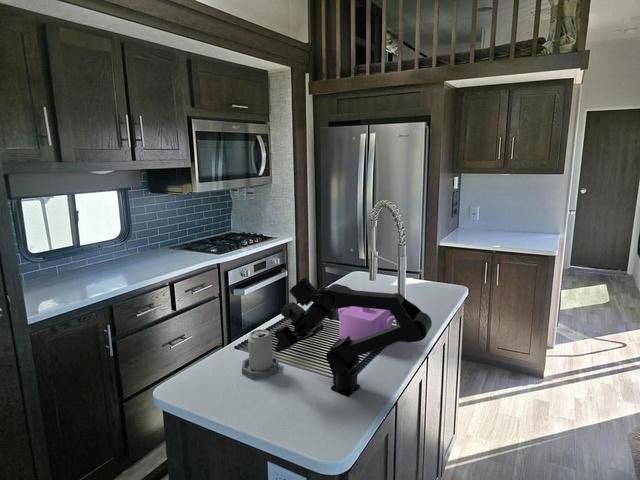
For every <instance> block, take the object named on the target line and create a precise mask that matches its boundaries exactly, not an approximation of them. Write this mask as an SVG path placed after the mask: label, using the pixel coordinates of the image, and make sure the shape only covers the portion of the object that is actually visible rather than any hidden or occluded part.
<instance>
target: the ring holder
mask: <svg viewBox="0 0 640 480" xmlns="http://www.w3.org/2000/svg"><path fill="white" fill-rule="evenodd" d="M272 359H273V365H272V367H271V368H270V369H269V370H267V371H259V372H255V371H253V370H252V369H251V368H250V367H249V357H247V358H246V359H243V360H242V365H241V374H242V375H243V376H245V377H247V378H250V379H251V380H259V379H260V380H261V379H269V378H270V377H272V376H274V375H276V374H278V373H279V372H280V370H279V369H280V367H279V365H280V362H279V361H280V360H279V358H278V357H276V356H273V355H272Z"/></svg>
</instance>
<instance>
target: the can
mask: <svg viewBox="0 0 640 480" xmlns="http://www.w3.org/2000/svg"><path fill="white" fill-rule="evenodd" d="M272 339H273V337H272V335H271V334H270V331H268V329H267V330H266V329H254V330H253V331H251V332H250V333H249V336H248V337H247V343H248V358H249V367H250V368H251V369H252V370H253V371H255V372H259V371H267V370H269V369H270V368H271V367H272V365H273V359H272V356H273V340H272Z"/></svg>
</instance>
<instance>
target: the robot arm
mask: <svg viewBox="0 0 640 480" xmlns="http://www.w3.org/2000/svg"><path fill="white" fill-rule="evenodd" d="M288 292H289V295H291V296H292V297H293V298H294V299H295V300H296V302H298V303H296V302H293V301H292V302H289V303H286V304H285V305H284V306H283V307H282V308H281V309H280V311H281V312H280V315H281V316H282V317H284V318H285V319H289V320H291V321H290V324H291V326H293V329H294V330H291V328H290V326H288V325H287V326H286V325H284V326H281V327H279V328H277V329H276V330H275V331H274V333H273V334H274V336H275V338H276V339H277V343H276V346H275V347H274V351H275V352H276V353H279V352H282V351H287V350H290V349H291V348H293V347H294V346H295V345H297V344H298V343H299V342H302V341H305V340H307V339H311V338H313V337H315V336H316V335H318V334H320V333H321V332H322V331H323V330H324V324H323V323H322V322H324V321H325V319H326V318H328V319H329V321H333V320H334V319H336V318H337V317H338V315H337V314H338V313H337V309H338V310H339V309H340V308H349V307H351V306H353V307H363V308H372V309H382V310H389V311H390V314H392V316H394V317H395V321H396V322H397V324H396V325H394V326H391V328H388V329H385V330H383V331H380V332H377V333H374V334H372V335H369V336H366V337H364V338H361V339H358V340H351V339H350V336H347V337H346V338H344V339H337V340H336V341H335V342H334V343H333V344H332V345H331V346H330V347H329V350H328V351H327V352H326V355H325V356H326V361H327V363H328V365H329V368H330V371H331V374H332V384H333V385H331V386H330V390H333V391H334V392H336V393H338V394H340V395H341V394H342V395H344V396H346V397H350V396H351V395H352V394H354V393H355V392H356V391H357V390H359V389H360V388H361V385H360V384H358V370H357V369H356V367H357V366H359V364H360V361H361V358H360V356H363V355H365V354H367V353H372V352H374V351H377V350H379V349H382V348H385V347H388V346H392V345H394V344H397V343H417V342H421V341H423V340H424V339H426V336H427V335H428V333H429V332H430V330H431V328H432V326H433V322H432V318H431V317H430V315H428V314H427V313H426V312H423V311H422V310H421V309H420V308H419V307H418V306H417V305H415V303H412V302H411V301H410V300H408V299H407V298H405V296H404V295H403V294H401V293H398V292H394V293H392V292H391V293H390V292H377V291H366V290H355V289H352V288H350V287H349V286H347V285H343V284H338V283H334V284H331V285H329V286H328V287H327V286H326V287H320V288H319V289H317V288H316V287H315V286H314V285H313V284H312V283H311V281H310V280H309V279H308V278H307V277H306V276H304V277H303V278H301V279H300V281H298V282H297V283H296V284H295V285H293V286H292V287H291V288H290V289H289V290H288ZM309 305H310V306H309ZM304 306H306V307H308V306H309V307H308V308H307V309H306V310H305V309H304V308H303V307H304ZM371 351H372V352H371Z"/></svg>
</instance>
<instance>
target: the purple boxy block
mask: <svg viewBox="0 0 640 480" xmlns="http://www.w3.org/2000/svg"><path fill="white" fill-rule="evenodd" d="M337 312H338V313H337V314H338V315H339V317H338V319H339V321H338V322H339V329H338V330H339V331H338V332H339V333H338V336H339V337H338V338H339V339H344V338H346V337H347V336H350V339H351V340H358V339H361V338H364V337H366V336H369V335H372V334H374V333H377V332H380V331H383V330H385V329H388V328H391V327H392V324H393V323H394V321H396V319H395V317H394V315H391V312H390V311H389V310H382V309H372V308H363V307H353V306H350V307H344V308H340V309H338V310H337ZM339 339H338V340H339Z"/></svg>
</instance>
